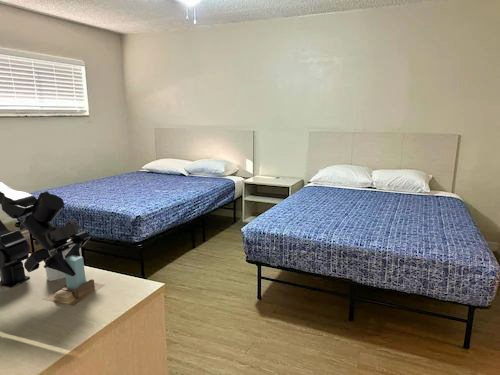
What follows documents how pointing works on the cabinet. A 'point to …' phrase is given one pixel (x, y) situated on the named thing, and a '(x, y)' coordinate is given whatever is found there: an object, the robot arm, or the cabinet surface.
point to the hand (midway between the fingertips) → (78, 272)
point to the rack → (73, 293)
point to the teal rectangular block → (78, 268)
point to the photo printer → (56, 274)
